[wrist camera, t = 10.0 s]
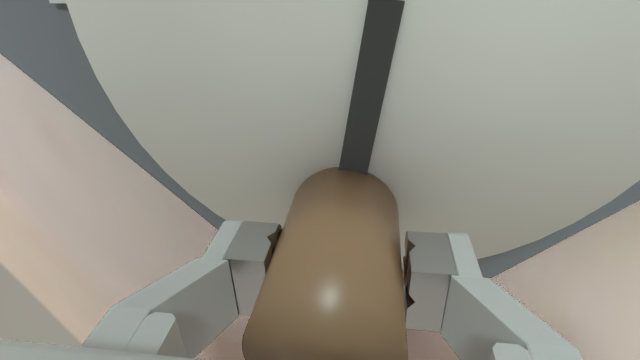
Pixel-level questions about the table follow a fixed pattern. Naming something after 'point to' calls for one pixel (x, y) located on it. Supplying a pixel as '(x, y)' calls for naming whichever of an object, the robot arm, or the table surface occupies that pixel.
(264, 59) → the dial
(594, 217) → the dial housing
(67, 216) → the table surface
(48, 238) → the table surface
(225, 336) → the table surface
